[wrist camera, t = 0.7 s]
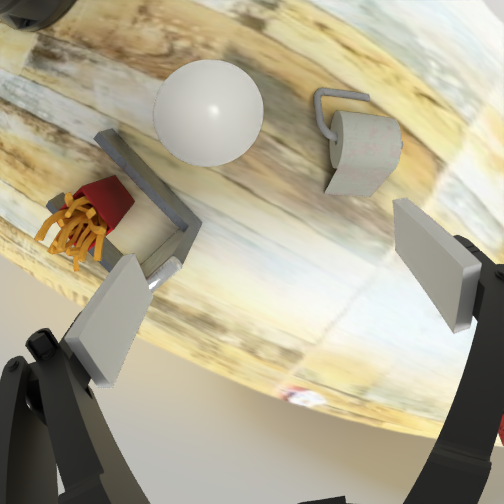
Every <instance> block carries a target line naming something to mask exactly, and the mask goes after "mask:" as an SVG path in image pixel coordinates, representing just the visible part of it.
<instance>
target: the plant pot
mask: <svg viewBox="0 0 504 504" xmlns="http://www.w3.org/2000/svg"><path fill="white" fill-rule="evenodd" d="M498 434H499V437H500V439H501V442H502V444H503V446H504V412H503V416H502V419H501V423H500V427H499V430H498Z"/></svg>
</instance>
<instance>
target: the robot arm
mask: <svg viewBox="0 0 504 504" xmlns="http://www.w3.org/2000/svg"><path fill="white" fill-rule="evenodd" d="M72 2H73V0H0V20H2V21H3V22H4V23H6V24H7V25H8V26H9V27H11V28H13V29H16V30H21V31H35V30H39V29H41V28H43V27H45V26H47V25H49V24H50V23H52V22H53V21H55V20H56V19H57V18H58V17H59V16H60V15H61V14H62V13H63V12H64V11H65V10H66V9H67V8H68V7H69V6H70V4H71V3H72ZM393 211H394V228H395V251H396V252H397V253H398V255H399V256H400V257H401V259H402V260H403V261H404V263H405V264H406V265H407V267H408V268H409V269H410V271H411V272H412V274H413V275H414V276H415V278H416V279H417V280H418V282H419V283H420V285H421V286H422V288H423V289H424V290H425V292H426V293H427V295H428V296H429V298H430V299H431V300H432V302H433V303H434V305H435V306H436V308H437V309H438V311H439V312H440V314H441V315H442V317H443V318H444V320H445V321H446V323H447V324H448V326H449V328H450V329H451V331H452V332H453V333H457V332H460V331H463V330H465V329H468V328H470V326H471V321H472V317H473V316H474V317H475V318H476V320H477V321H478V323H477V327H476V331H475V335H474V338H473V342H472V346H471V349H470V353H469V356H468V359H467V363H466V366H465V369H464V372H463V375H462V378H461V381H460V384H459V387H458V390H457V392H456V395H455V398H454V400H453V403H452V406H451V408H450V411H449V413H448V416H447V418H446V420H445V423H444V425H443V428H442V430H441V432H440V434H439V437H438V439H437V441H436V443H435V445H434V447H433V450H432V451H431V453H430V455H429V458H428V459H427V462H426V464H425V465H424V467H423V469H422V471H421V473H420V475H419V477H418V478H417V480H416V482H415V484H414V486H413V488H412V489H411V491H410V493H409V494H408V496H407V498H406V499H405V501H404V503H403V504H477V503H478V501H479V499H480V496H481V494H482V492H483V489H484V487H485V484H486V482H487V479H488V476H489V473H490V470H491V465H492V463H491V462H490V456H491V453H492V450H493V447H494V443H495V440H496V437H497V434H498V430H499V427H500V423H501V419H502V416H503V412H504V264H497V265H496V264H495V263H494V262H493V261H492V260H490V259H489V258H488V257H487V256H486V255H485V254H484V253H483V252H482V251H480V249H478V248H477V247H476V246H475V245H474V244H473V243H472V242H471V241H469V240H468V239H466V238H464V237H462V236H460V235H455V236H452V235H451V234H450V233H448V232H447V231H446V230H445V229H444V228H443V227H442V226H440V225H439V224H438V223H437V222H436V221H435V220H433V219H432V218H431V217H430V216H429V215H427V214H426V213H425V212H424V211H423V210H421V209H420V208H419V207H418V206H417V205H415V204H414V203H413V202H412V201H410V200H409V199H408V198H401V199H396V200H393ZM152 299H153V295H152V292H151V290H150V288H149V286H148V283H147V281H146V279H145V276H144V274H143V272H142V269H141V267H140V265H139V262H138V260H137V257H136V255H135V253H133V254H129V255H124V256H122V257H121V259H120V260H119V261H118V263H117V264H116V265H115V267H114V268H113V269H112V271H111V272H110V273H109V275H108V276H107V277H106V279H105V280H104V281H103V283H102V284H101V285H100V287H99V288H98V290H97V291H96V292H95V294H94V295H93V297H92V298H91V299H90V301H89V302H88V304H87V305H86V307H85V308H84V309H83V310H82V311H81V312H80V313H79V314H78V316H77V317H76V318H75V320H74V322H73V323H72V324H71V326H70V328H69V329H68V330H67V332H66V333H65V335H64V336H63V338H62V339H61V341H60V342H59V343H58V341H57V340H56V338H55V337H54V335H53V334H52V332H51V330H50V329H49V328H43V329H40V330H38V331H36V332H35V333H34V334H32V335H31V336H30V337H29V338H28V340H27V342H26V345H25V346H26V347H27V349H28V350H29V352H30V353H31V354H32V356H33V357H34V359H35V360H36V362H33V363H30V364H28V363H27V361H26V360H25V359H24V357H23V356H17V357H14V358H12V359H10V360H9V361H8V362H7V364H6V365H5V367H4V369H3V372H2V376H1V379H0V504H150V502H149V501H148V499H147V497H146V496H145V494H144V493H143V491H142V489H141V487H140V486H139V484H138V483H137V481H136V479H135V477H134V476H133V474H132V472H131V470H130V468H129V467H128V465H127V463H126V461H125V459H124V457H123V455H122V453H121V451H120V450H119V448H118V446H117V444H116V442H115V440H114V438H113V436H112V434H111V431H110V430H109V427H108V425H107V423H106V421H105V419H104V416H103V414H102V412H101V410H100V407H99V405H98V403H97V400H96V398H95V396H94V393H93V391H92V389H91V388H90V387H89V386H88V384H89V382H90V379H92V380H93V381H94V383H95V384H96V385H97V387H98V388H113V386H114V383H115V381H116V379H117V377H118V374H119V372H120V370H121V367H122V365H123V363H124V360H125V358H126V355H127V353H128V351H129V349H130V347H131V344H132V342H133V340H134V338H135V336H136V333H137V331H138V329H139V327H140V325H141V322H142V320H143V318H144V316H145V314H146V312H147V310H148V307H149V305H150V303H151V301H152ZM27 404H28V405H29V406H30V408H29V407H28V405H27ZM56 463H57V465H56ZM56 466H58V470H59V473H60V476H61V479H62V482H63V485H64V488H65V492H64V493H62V494H60V495H59V497H58V486H57V468H56ZM298 504H351V503H346V499H345V496H340V497H335V498H328V499H322V500H315V501H307V502H301V503H298Z"/></svg>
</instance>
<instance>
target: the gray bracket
mask: <svg viewBox="0 0 504 504" xmlns="http://www.w3.org/2000/svg"><path fill="white" fill-rule="evenodd" d="M94 140H95V141H96V142H97V143H98V144H99V145H100V146H101V147H102V148H103V149H104V151H105V152H106V153H107V154H108V155H109V156H110V157H111V158H112V159H113V160H114V161H115V162H116V163H117V164H118V165H119V167H120V168H121V169H122V170H123V171H124V172H125V173H126V174H127V175H128V176H129V177H130V178H131V179H132V180H133V181H134V182H135V183H136V184H137V185H138V186H139V187H140V189H141V190H142V191H143V192H144V193H145V194H146V195H147V196H148V197H149V198H150V199H151V200H152V201H153V202H154V203H155V204H156V205H157V206H158V207H159V208H160V209H161V210H162V211H163V212H164V213H165V214H166V215H167V216H168V217H169V218H170V219H171V220H172V221H173V222H174V223H175V224H176V225H177V226H178V227H179V228H180V229H179V230H178V231H177V232H176V233H175V234H174V235H172V236H171V237H170V238H169V239H168V240H167V241H166V242H165V243H164V244H163V245H162V246H161V247H160V248H158V249H157V250H156V251H155V252H154V253H153V254H152V255H151V256H150V257H149V258H148V259H147V260H146V261H145V262H144V263H143V264H142V265H141V266H140V267H141V269H142V272H143V274H144V276H145V279H146V281H147V283H148V286H149V288H150V290H151V292H152V293H153V292H155V291H156V290H157V289H158V288H159V287H160V286H162V285H163V284H164V283H165V282H166V281H167V280H169V279H170V278H171V277H172V276H173V275H174V274H176V273H177V272H178V271H179V270H180V269H181V268H182V265H183V263H184V261H185V259H186V257H187V255H188V253H189V250H190V248H191V246H192V244H193V242H194V240H195V238H196V235H197V233H198V231H199V229H200V227H201V225H202V222H201V221H200V220H199V219H198V218H197V217H196V216H195V215H194V214H193V212H192V211H191V210H190V209H189V208H188V207H187V206H186V205H185V204H184V203H183V202H182V201H181V200H180V199H179V198H178V197H177V196H176V195H175V194H174V193H173V192H172V191H171V190H170V189H169V188H168V187H167V186H166V185H165V183H164V182H163V181H162V180H161V179H160V178H159V177H158V176H157V175H156V174H155V173H154V172H153V171H152V170H151V169H150V168H149V167H148V166H147V165H146V164H145V163H144V162H143V160H142V159H141V158H140V157H139V156H138V155H137V154H136V153H135V152H134V151H133V150H132V149H131V148H130V147H129V146H128V145H127V144H126V143H125V142H124V141H123V139H122V138H121V137H120V136H119V135H118V134H117V133H116V132H115V131H114V130H113V129H109V130H105V131H101V132H99V133H98V134H97V135H96V136H95V137H94ZM65 203H66V202H65V194H64V193H61V194H59V195H58V196H56V197H54V198H53V199H51V200H49V201H48V203H47V205H46V207H47V208H48V210H49V211H50V212H51V213H52V214H54V213H56V212H58V210H59V209H60V208H61V207H62V206H63V205H64V204H65ZM94 251H95V246H93V247H92V248H91V249H90V250H89V251H88V252H89V253H90V254H91V255H92V256H93V257H94ZM122 256H124V255H123V254H122V253H121V252H120V251H119V250H117V249H116V248H115V247H114V246H113V245H112V244H111V243H110V242H109V241H108V239H107V238H106V237H105V239H104V243H103V250H102V261H98V262H99V263H100V264H101V265H102V266H103V267H104V268H105V269H106V270H107V271H108V272H109V273H110V272H111V271H112V269H113V268H114V267H115V265H116V264H117V263H118V261H119V260H120V259H121V257H122Z"/></svg>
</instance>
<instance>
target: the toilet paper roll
mask: <svg viewBox="0 0 504 504" xmlns="http://www.w3.org/2000/svg"><path fill="white" fill-rule="evenodd" d="M322 95H327V96H335V97H343V98H350V99H357V100H363V101H370V96H369V94H364V93H358V92H352V91H345V90H337V89H330V88H320V89H318V90H317V91H316V92H315V95H314V105H315V113H316V121H317V125H318V127H319V129H320V131H321V132H322V133H323V135H324V136H325V137H326V138H328V139H330V159H331V163H332V166H333V168H338V169H337V171H336V173H335V174H334V176H333V178H332V180H331V181H332V182H330V184H329V186H328V187H327V189H326V191H325V193H324V194H334V195H349V196H362V197H370V196H371V195H372V194H373V193H374V192H375V191H376V190H377V189H378V188H379V186H380V185H381V184H382V183H383V182H384V181H385V180H386V179H387V177H388V176H389V175H390V174H391V173H392V172H393V171H394V170H395V169H396V167H397V165H398V162H399V159H400V154H401V149H402V147H403V142H402V140H401V131H400V127H399V125H398V122H397V121H396V120H395V119H394V118H390V117H383V116H377V115H370V114H363V113H355V112H347V111H338V110H337V111H336V112H335V113H334V116H333V119H332V123H331V129H330V130H329V129H328V127H327V126H326V125H325V123H324V119H323V112H322V105H321V96H322ZM345 182H346V183H345ZM369 184H370V185H369Z"/></svg>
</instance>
